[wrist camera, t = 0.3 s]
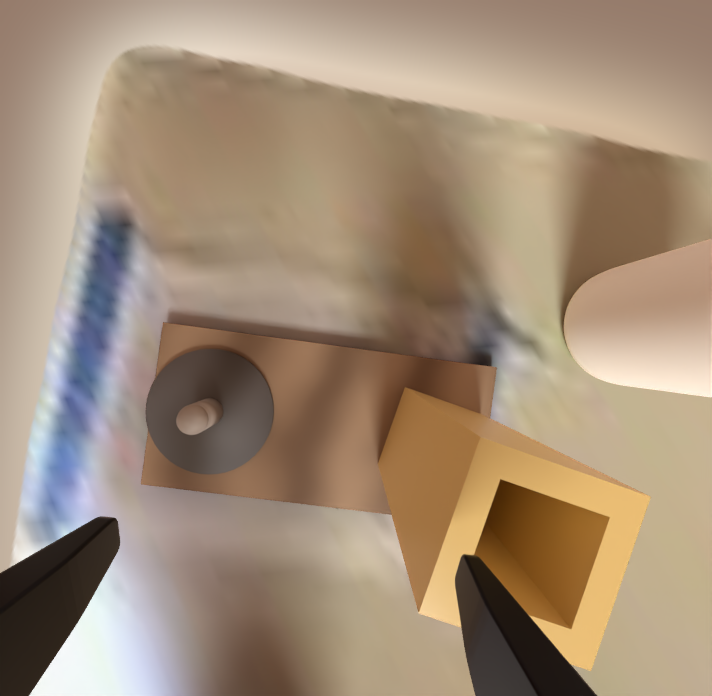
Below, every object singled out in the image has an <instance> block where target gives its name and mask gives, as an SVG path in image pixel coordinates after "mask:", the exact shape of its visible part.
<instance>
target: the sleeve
mask: <svg viewBox="0 0 712 696" xmlns="http://www.w3.org/2000/svg"><path fill="white" fill-rule="evenodd" d="M378 466H379V470H380V474H381V477H382V481H383V485H384V488H385V492H386V496H387V499H388V503H389V507H390V510H391V514H392V518H393V521H394V525H395V528H396V532H397V536H398V539H399V543H400V547H401V550H402V554H403V558H404V561H405V565H406V569H407V572H408V576H409V580H410V583H411V587H412V591H413V594H414V598H415V602H416V605H417V609H418V612H419V614H422V615H425V616H428V617H431V618H434V619H437V620H440V621H443V622H446V623H449V624H452V625H455V626H458V627H461V621H460V615H459V608H458V602H457V595H456V589H455V575H456V572H457V569H458V565H459V562H460V558H461V556H462V555H463V554H468V555H476V556H478V557H480V558H481V559H482V561H483V562H484V563H485V564H486V565H487V567H488V568H489V569H490V570H491V571H492V572H493V574H494V575H495V576H496V577H497V578H498V579H499V581H500V582H501V583H502V584H503V585H504V587H505V588H506V589H507V590H508V591H509V592H510V594H511V595H512V596H513V597H514V598H515V600H516V601H517V602H518V603H519V604H520V605H521V607H522V608H523V609H524V610H525V611H526V612H527V614H528V615H529V616H530V617H531V618H532V620H533V621H534V622H535V623H536V624H537V625H538V627H539V628H540V629H541V630H542V631H543V633H544V634H545V635H546V636H547V637H548V638H549V640H550V641H551V642H552V643H553V644H554V645H555V647H556V648H557V649H558V650H559V651H560V653H561V654H562V655H563V656H564V657H565V658H566V660H567V661H568V662H569V663H570V664H572V665H575V666H578V667H581V668H584V669H587V670H590V671H591V669H592V666H593V663H594V660H595V657H596V655H597V652H598V649H599V646H600V643H601V640H602V637H603V634H604V631H605V628H606V626H607V623H608V620H609V617H610V614H611V611H612V608H613V605H614V602H615V599H616V596H617V594H618V591H619V588H620V585H621V582H622V579H623V576H624V573H625V570H626V567H627V565H628V562H629V559H630V556H631V553H632V550H633V547H634V544H635V541H636V538H637V535H638V533H639V530H640V527H641V524H642V521H643V518H644V515H645V512H646V509H647V506H648V504H649V501H650V498H651V497H650V496H648V495H646V494H644V493H642V492H640V491H638V490H636V489H634V488H632V487H630V486H627V485H625V484H623V483H621V482H619V481H617V480H615V479H613V478H611V477H609V476H607V475H605V474H603V473H601V472H599V471H597V470H595V469H593V468H591V467H589V466H587V465H584V464H582V463H580V462H578V461H576V460H574V459H572V458H570V457H568V456H566V455H564V454H562V453H560V452H558V451H556V450H554V449H552V448H550V447H548V446H546V445H543V444H541V443H539V442H537V441H535V440H533V439H531V438H529V437H527V436H525V435H523V434H521V433H519V432H517V431H515V430H513V429H511V428H509V427H507V426H505V425H503V424H500V423H498V422H496V421H494V420H492V419H490V418H488V417H486V416H484V415H482V414H480V413H477V412H474V411H471V410H468V409H466V408H463V407H460V406H457V405H454V404H451V403H449V402H446V401H443V400H440V399H437V398H435V397H432V396H429V395H426V394H423V393H420V392H418V391H415V390H412V389H409V388H406V387H405V388H404V391H403V394H402V397H401V400H400V403H399V405H398V408H397V411H396V414H395V417H394V420H393V422H392V425H391V428H390V431H389V434H388V437H387V439H386V442H385V445H384V448H383V451H382V454H381V456H380V459H379V462H378Z"/></svg>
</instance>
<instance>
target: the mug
mask: <svg viewBox="0 0 712 696" xmlns="http://www.w3.org/2000/svg"><path fill="white" fill-rule="evenodd" d="M564 336H565V340H566V344H567V347H568V349H569V351H570V353H571V355H572V357H573V358H574V359H575V361H576V362H577V363H578V364H579V365H580V366H581V367H582V368H583V369H584V370H585V371H586V372H588V373H589V374H590V375H592V376H594V377H596V378H598V379H600V380H603V381H606V382H609V383H613V384H618V385H624V386H631V387H639V388H646V389H653V390H661V391H668V392H676V393H683V394H690V395H698V396H705V397H712V238H711V239H708V240H705V241H701V242H698V243H695V244H691V245H688V246H685V247H681V248H678V249H675V250H671V251H668V252H665V253H661V254H658V255H655V256H651V257H648V258H645V259H641V260H638V261H635V262H631V263H628V264H625V265H621V266H618V267H615V268H612V269H609V270H607V271H604V272H602V273H599V274H597V275H596V276H594V277H592V278H590V279H589V280H587V281H586V282H585V283H584V284H583V285H582V286H581V287H580V288H579V289H578V290H577V291H576V292H575V294H574V295H573V297H572V298H571V300H570V302H569V304H568V307H567V309H566V313H565V318H564Z"/></svg>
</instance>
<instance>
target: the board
mask: <svg viewBox="0 0 712 696" xmlns="http://www.w3.org/2000/svg"><path fill="white" fill-rule="evenodd" d="M496 369H497V367H490V366H482V365H475V364H467V363H460V362H453V361H445V360H438V359H430V358H423V357H416V356H408V355H401V354H393V353H386V352H379V351H371V350H364V349H357V348H349V347H342V346H334V345H327V344H320V343H312V342H305V341H297V340H290V339H283V338H275V337H268V336H260V335H253V334H246V333H238V332H231V331H223V330H216V329H209V328H201V327H194V326H187V325H179V324H172V323H164V322H163V327H162V334H161V341H160V348H159V356H158V363H157V370H156V377H155V380H154V382H153V384H152V386H151V388H150V391H149V394H148V398H147V403H146V421H147V426H148V436H147V443H146V450H145V457H144V465H143V472H142V479H141V484H143V485H151V486H159V487H168V488H176V489H184V490H192V491H201V492H209V493H217V494H225V495H234V496H242V497H250V498H259V499H267V500H275V501H283V502H292V503H300V504H308V505H316V506H325V507H333V508H341V509H349V510H358V511H366V512H374V513H382V514H391V510H390V507H389V503H388V499H387V496H386V492H385V488H384V485H383V481H382V477H381V474H380V470H379V466H378V462H379V459H380V456H381V454H382V451H383V448H384V445H385V442H386V439H387V437H388V434H389V431H390V428H391V425H392V422H393V420H394V417H395V414H396V411H397V408H398V405H399V403H400V400H401V397H402V394H403V391H404V388H405V387H406V388H409V389H412V390H415V391H418V392H420V393H423V394H426V395H429V396H432V397H435V398H437V399H440V400H443V401H446V402H449V403H451V404H454V405H457V406H460V407H463V408H466V409H468V410H471V411H474V412H477V413H480V414H482V415H484V416H486V417H488V418H490V414H491V407H492V399H493V392H494V384H495V377H496ZM391 515H392V514H391Z"/></svg>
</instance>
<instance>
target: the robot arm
mask: <svg viewBox="0 0 712 696" xmlns="http://www.w3.org/2000/svg"><path fill="white" fill-rule="evenodd" d="M119 546H120V536H119V528H118V521H117V519H116V518H112V517H97V518H95V519H93V520H92V521H90V522H88V523H86V524H85V525H83V526H81V527H79V528H78V529H76V530H74V531H72V532H71V533H69V534H67V535H66V536H64V537H62V538H60V539H59V540H57V541H55V542H53V543H52V544H50V545H48V546H46V547H45V548H43V549H41V550H40V551H38V552H36V553H34V554H33V555H31V556H29V557H27V558H26V559H24V560H22V561H20V562H19V563H17V564H15V565H14V566H12V567H10V568H8V569H7V570H5V571H3V572H1V573H0V696H29V695H30V693H31V692H32V690H33V689H34V687H35V686H36V684H37V683H38V681H39V680H40V678H41V677H42V675H43V674H44V672H45V671H46V669H47V668H48V666H49V665H50V663H51V662H52V660H53V659H54V657H55V656H56V654H57V653H58V651H59V650H60V648H61V647H62V645H63V644H64V642H65V641H66V639H67V638H68V636H69V635H70V633H71V632H72V630H73V629H74V627H75V626H76V624H77V623H78V621H79V619H80V618H81V616H82V614H83V613H84V611H85V609H86V608H87V606H88V604H89V602H90V600H91V599H92V597H93V595H94V593H95V591H96V590H97V588H98V586H99V584H100V582H101V581H102V579H103V577H104V575H105V573H106V572H107V570H108V568H109V566H110V565H111V563H112V561H113V559H114V557H115V556H116V554H117V552H118V549H119ZM455 589H456V595H457V602H458V608H459V615H460V621H461V628H462V634H463V640H464V647H465V652H466V658H467V662H468V667H469V671H470V675H471V679H472V683H473V687H474V691H475V695H476V696H597V695H596V694H595V693H594V691H593V690H592V689H591V688H590V687H589V686H588V684H587V683H586V682H585V681H584V680H583V678H582V677H581V676H580V675H579V674H578V673H577V671H576V670H575V669H574V668H573V667H572V666H571V664H570V663H569V662H568V661H567V660H566V658H565V657H564V656H563V655H562V654H561V653H560V651H559V650H558V649H557V648H556V647H555V645H554V644H553V643H552V642H551V641H550V640H549V638H548V637H547V636H546V635H545V634H544V633H543V631H542V630H541V629H540V628H539V627H538V625H537V624H536V623H535V622H534V621H533V620H532V618H531V617H530V616H529V615H528V614H527V612H526V611H525V610H524V609H523V608H522V607H521V605H520V604H519V603H518V602H517V601H516V600H515V598H514V597H513V596H512V595H511V594H510V592H509V591H508V590H507V589H506V588H505V587H504V585H503V584H502V583H501V582H500V581H499V579H498V578H497V577H496V576H495V575H494V574H493V572H492V571H491V570H490V569H489V568H488V567H487V565H486V564H485V563H484V562H483V561H482V559H481V558H480V557H478V556H476V555H468V554H463V555H462V556H461V558H460V562H459V565H458V569H457V572H456V575H455Z"/></svg>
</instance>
